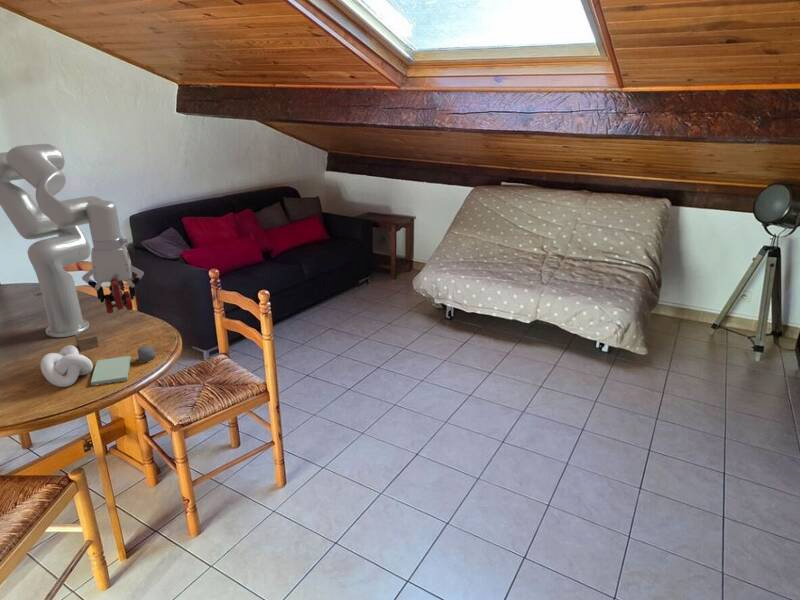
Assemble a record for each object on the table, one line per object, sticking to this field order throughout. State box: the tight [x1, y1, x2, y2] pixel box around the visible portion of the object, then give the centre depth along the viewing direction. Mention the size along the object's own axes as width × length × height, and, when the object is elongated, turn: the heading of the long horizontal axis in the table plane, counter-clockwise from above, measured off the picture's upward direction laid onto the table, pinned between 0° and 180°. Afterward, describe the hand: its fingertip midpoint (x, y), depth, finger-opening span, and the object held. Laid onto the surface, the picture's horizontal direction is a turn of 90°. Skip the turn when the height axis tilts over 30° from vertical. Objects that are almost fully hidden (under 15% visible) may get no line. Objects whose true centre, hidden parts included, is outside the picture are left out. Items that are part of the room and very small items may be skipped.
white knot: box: [40, 344, 94, 388], centre depth 144 cm, size 11×12×9 cm
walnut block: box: [74, 330, 100, 352], centre depth 163 cm, size 5×5×4 cm
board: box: [90, 355, 132, 386], centre depth 149 cm, size 13×9×1 cm
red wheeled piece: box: [104, 279, 134, 315], centre depth 155 cm, size 7×12×10 cm, turn 32°
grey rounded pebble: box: [137, 345, 156, 363], centre depth 156 cm, size 4×4×4 cm
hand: (117, 299), depth 156 cm, fingers closed on red wheeled piece, 7 cm apart
